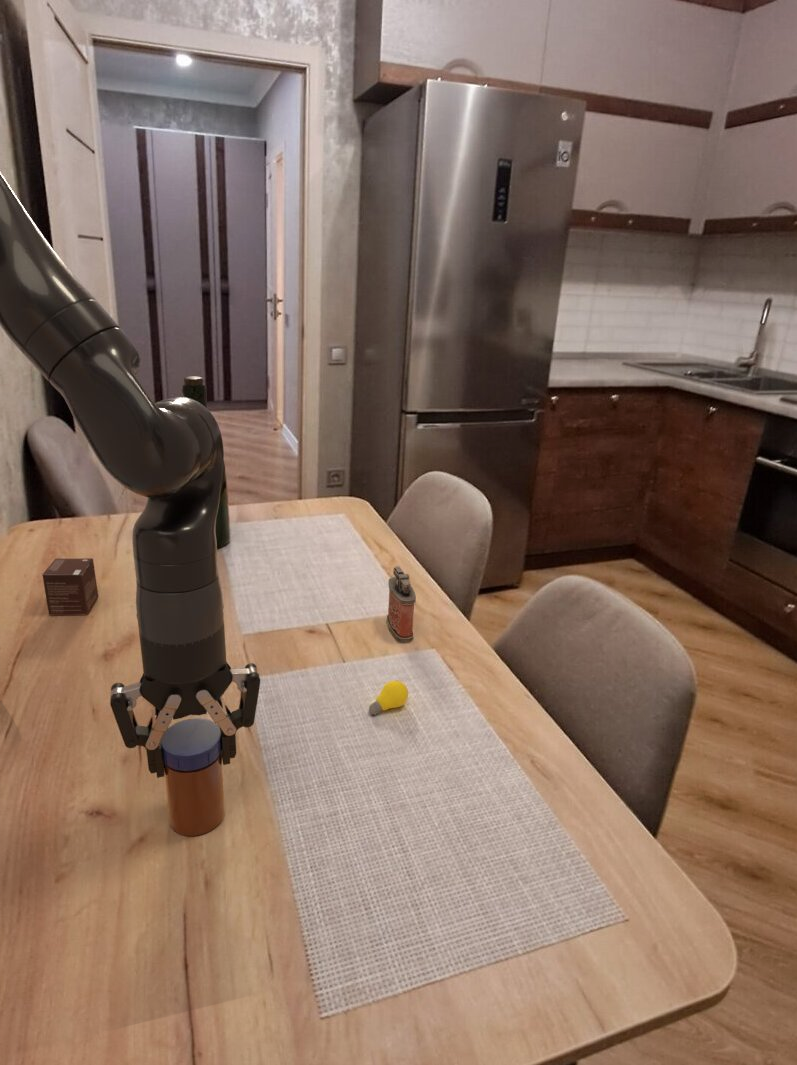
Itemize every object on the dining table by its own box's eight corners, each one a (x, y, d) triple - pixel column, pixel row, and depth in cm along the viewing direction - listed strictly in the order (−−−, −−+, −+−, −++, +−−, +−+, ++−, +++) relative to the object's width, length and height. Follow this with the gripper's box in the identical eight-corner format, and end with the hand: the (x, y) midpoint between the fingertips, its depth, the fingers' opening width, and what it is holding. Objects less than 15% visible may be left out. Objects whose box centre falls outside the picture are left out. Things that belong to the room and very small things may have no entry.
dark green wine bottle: (168, 539, 135) (153, 374, 123) (215, 528, 142) (205, 370, 129) (192, 556, 128) (179, 383, 116) (240, 544, 135) (233, 379, 122)
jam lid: (195, 778, 63) (194, 763, 63) (149, 758, 66) (147, 744, 65) (233, 743, 68) (233, 729, 68) (189, 726, 70) (188, 711, 70)
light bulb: (412, 702, 89) (413, 688, 87) (377, 728, 87) (377, 714, 84) (396, 684, 91) (397, 670, 89) (362, 709, 89) (361, 696, 86)
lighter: (417, 641, 104) (421, 584, 100) (396, 644, 103) (399, 586, 99) (402, 616, 111) (405, 562, 107) (382, 618, 110) (385, 563, 106)
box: (61, 597, 111) (55, 557, 108) (99, 597, 112) (94, 557, 109) (48, 616, 105) (40, 574, 103) (87, 615, 106) (81, 574, 103)
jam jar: (168, 840, 67) (160, 764, 63) (170, 800, 72) (163, 727, 68) (226, 830, 68) (221, 755, 65) (223, 791, 73) (219, 720, 70)
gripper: (94, 652, 56) (116, 808, 62) (267, 629, 60) (271, 776, 67) (98, 610, 62) (118, 755, 68) (254, 592, 67) (259, 729, 73)
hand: (193, 764), depth 68 cm, fingers closed on jam lid, 5 cm apart
